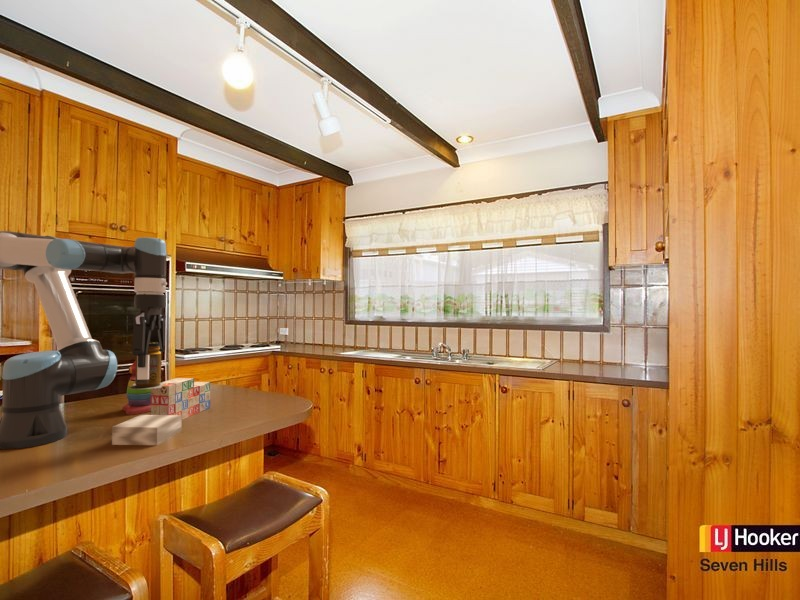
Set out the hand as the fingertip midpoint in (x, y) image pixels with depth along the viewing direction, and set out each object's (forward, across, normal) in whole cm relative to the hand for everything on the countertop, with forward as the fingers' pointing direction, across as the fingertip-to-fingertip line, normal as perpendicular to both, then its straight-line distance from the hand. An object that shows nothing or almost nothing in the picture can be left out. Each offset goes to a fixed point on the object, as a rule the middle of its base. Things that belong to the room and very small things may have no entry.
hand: (149, 376), depth 116 cm
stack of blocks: (+17, +23, 0) cm, 29 cm away
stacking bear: (+17, +31, +17) cm, 39 cm away
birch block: (+17, 0, 0) cm, 17 cm away
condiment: (+3, -1, 0) cm, 3 cm away
